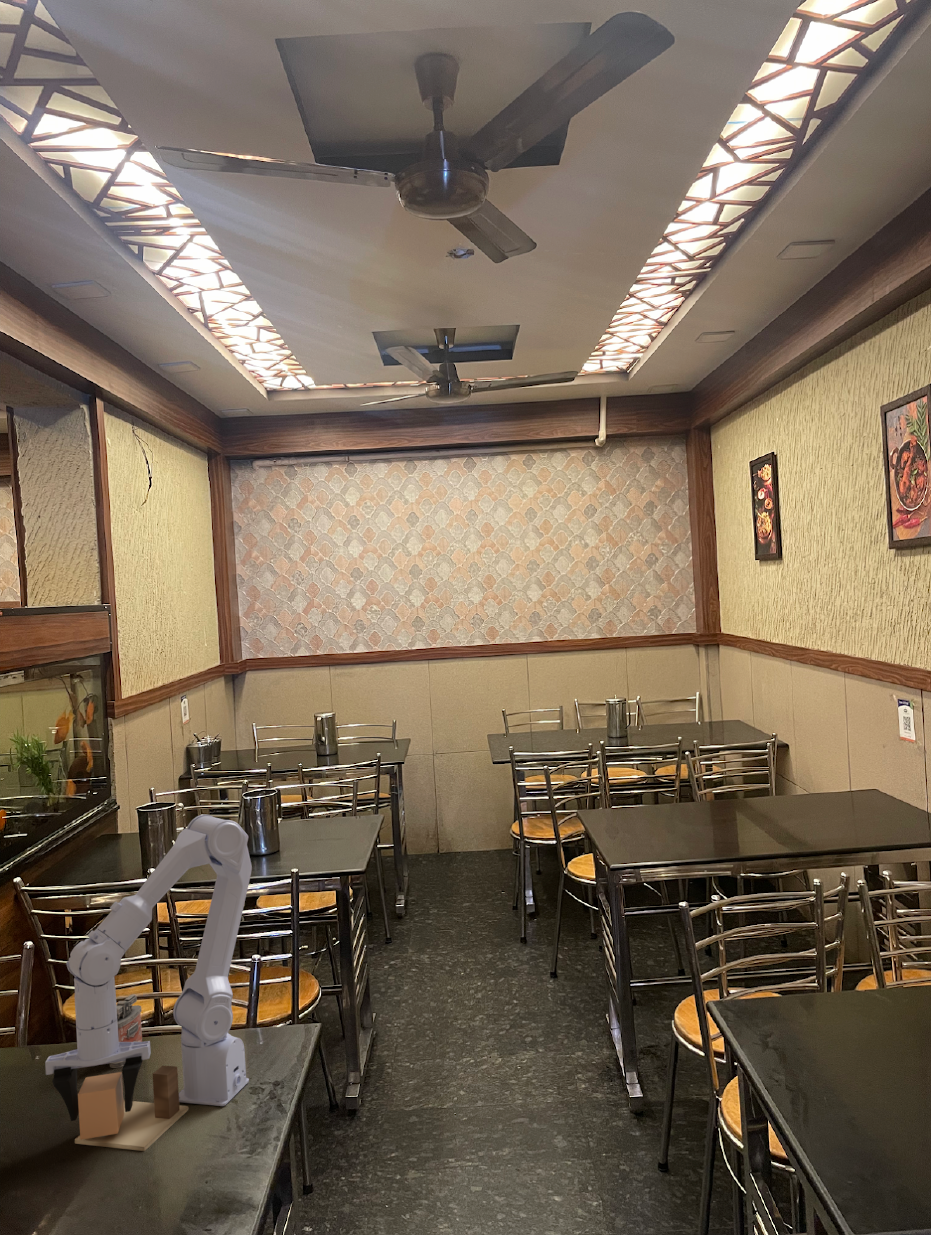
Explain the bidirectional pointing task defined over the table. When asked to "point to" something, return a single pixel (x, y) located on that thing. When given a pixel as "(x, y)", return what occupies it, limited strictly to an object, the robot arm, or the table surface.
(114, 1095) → the tan rectangular block
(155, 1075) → the post
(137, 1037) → the lighter
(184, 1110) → the board
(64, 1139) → the table surface
